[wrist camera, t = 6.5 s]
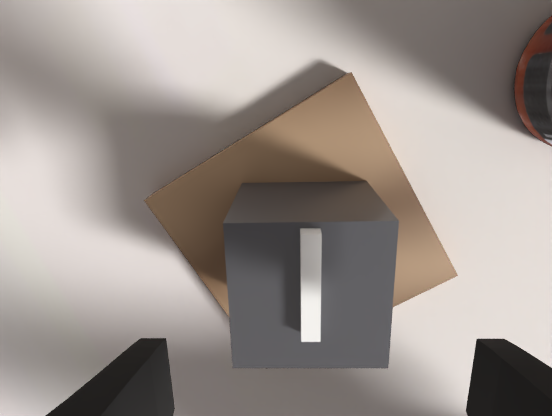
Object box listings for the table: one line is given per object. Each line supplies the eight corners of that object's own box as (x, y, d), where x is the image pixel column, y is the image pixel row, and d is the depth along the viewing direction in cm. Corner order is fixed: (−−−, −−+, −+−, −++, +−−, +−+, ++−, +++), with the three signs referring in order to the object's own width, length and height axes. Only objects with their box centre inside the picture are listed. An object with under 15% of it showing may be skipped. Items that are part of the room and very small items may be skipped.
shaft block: (449, 265, 18) (497, 320, 14) (267, 355, 20) (262, 428, 16) (347, 73, 16) (369, 69, 12) (151, 194, 18) (108, 229, 14)
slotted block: (361, 292, 18) (391, 378, 13) (247, 292, 18) (230, 378, 13) (366, 180, 16) (403, 226, 11) (241, 182, 17) (220, 228, 11)
